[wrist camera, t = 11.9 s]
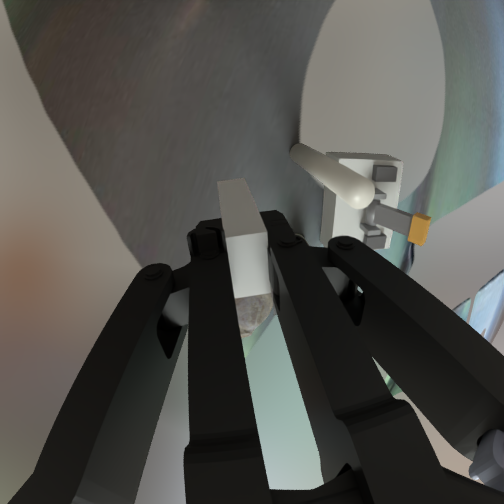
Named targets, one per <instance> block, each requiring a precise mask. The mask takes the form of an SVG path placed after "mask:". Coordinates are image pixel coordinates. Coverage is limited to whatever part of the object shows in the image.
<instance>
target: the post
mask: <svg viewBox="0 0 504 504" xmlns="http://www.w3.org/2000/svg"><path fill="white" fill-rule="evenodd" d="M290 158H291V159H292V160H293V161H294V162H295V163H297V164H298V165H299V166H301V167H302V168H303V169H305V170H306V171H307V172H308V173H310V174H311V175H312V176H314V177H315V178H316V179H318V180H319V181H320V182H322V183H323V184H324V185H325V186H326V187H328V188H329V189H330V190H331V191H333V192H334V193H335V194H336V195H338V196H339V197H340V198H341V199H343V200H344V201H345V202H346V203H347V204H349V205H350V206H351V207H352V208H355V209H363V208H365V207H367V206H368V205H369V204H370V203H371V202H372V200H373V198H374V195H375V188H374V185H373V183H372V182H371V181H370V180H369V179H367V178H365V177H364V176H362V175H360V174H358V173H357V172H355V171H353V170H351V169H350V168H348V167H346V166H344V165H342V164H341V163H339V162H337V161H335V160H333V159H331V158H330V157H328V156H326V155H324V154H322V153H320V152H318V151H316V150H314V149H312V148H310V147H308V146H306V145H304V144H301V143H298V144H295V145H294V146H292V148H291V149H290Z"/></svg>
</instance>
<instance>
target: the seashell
mask: <svg viewBox="0 0 504 504" xmlns="http://www.w3.org/2000/svg"><path fill="white" fill-rule="evenodd" d="M270 285H271V284H270ZM235 303H236V310H237V316H238V322H239V328H240V334H241V338H243V337H248V336H250V335H252V333H253V331H254V329H255V328H256V327H258V326H259V325H260V324H261V323H262V322H263V321H264V320H265V319H266V318H267V316H268V315H269V313H270V311H271V309H272V307H273V290H272V287H271V293H267V294H261V295H254V296H248V297H241V298H235Z"/></svg>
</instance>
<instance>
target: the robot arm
mask: <svg viewBox="0 0 504 504" xmlns="http://www.w3.org/2000/svg"><path fill="white" fill-rule="evenodd" d="M217 184H218V193H219V201H220V209H221V217H222V218H219V219H212V220H205V221H200V222H199V224H198V225H197V226H196V229H193V230H192V231H190V232H189V233H188V235H187V241H188V246H189V251H190V255H191V262H190V263H189V264H187V265H185V266H184V267H181V268H179V269H176V270H173V271H172V269H171V267H170V266H169V265H167V264H162V263H157V264H151V265H148V266H146V267H145V268H143V269H141V270H140V271H139V272H138V273H137V275H136V276H135V278H134V279H133V281H132V283H131V284H130V286H129V287H128V289H127V290H126V292H125V294H124V295H123V297H122V299H121V300H120V302H119V303H118V305H117V307H116V308H115V310H114V312H113V313H112V315H111V316H110V318H109V320H108V322H107V323H106V325H105V327H104V328H103V330H102V332H101V334H100V335H99V337H98V339H97V341H96V342H95V344H94V346H93V348H92V349H91V352H90V353H89V355H88V357H87V358H86V360H85V362H84V364H83V366H82V368H81V370H80V372H79V373H78V375H77V378H76V379H75V381H74V383H73V385H72V387H71V389H70V391H69V393H68V395H67V397H66V399H65V401H64V403H63V405H62V407H61V409H60V411H59V414H58V416H57V418H56V420H55V422H54V425H53V427H52V429H51V431H50V433H49V436H48V438H47V440H46V443H45V445H44V447H43V450H42V452H41V455H40V457H39V460H38V462H37V465H36V467H35V470H34V472H33V474H32V475H31V476H30V477H29V479H28V480H27V481H26V482H25V483H24V485H23V486H22V487H21V488H20V489H19V491H18V492H17V493H16V494H15V495H14V496H13V498H12V499H11V500H10V501H9V502H8V504H134V503H135V499H136V495H137V492H138V487H139V484H140V481H141V477H142V473H143V470H144V466H145V463H146V459H147V456H148V452H149V449H150V446H151V442H152V439H153V435H154V432H155V429H156V425H157V422H158V419H159V415H160V412H161V409H162V406H163V403H164V400H165V396H166V393H167V390H168V387H169V384H170V381H171V378H172V374H173V371H174V368H175V365H176V362H177V359H178V356H179V353H180V350H181V347H182V344H183V341H184V338H185V335H186V332H187V329H188V395H189V397H188V400H189V431H190V441H189V444H188V445H187V447H185V451H184V480H185V493H186V504H504V356H503V355H502V354H501V353H500V352H499V351H497V349H496V348H494V347H493V346H492V345H491V344H490V343H489V342H488V341H487V340H486V339H485V338H483V337H482V336H481V335H480V334H479V333H478V332H477V331H476V330H474V329H473V328H472V327H471V326H470V325H469V324H467V323H466V322H465V321H464V320H463V319H462V318H460V317H459V316H458V315H457V314H456V313H454V312H453V311H452V310H451V309H449V308H448V307H447V306H446V305H444V304H443V303H442V302H441V301H440V300H438V299H437V298H436V297H435V296H434V295H432V294H431V293H429V292H428V291H427V290H426V289H425V288H423V287H422V286H421V285H419V284H418V283H417V282H416V281H414V280H413V279H412V278H410V277H409V276H408V275H407V274H405V273H404V272H403V271H401V270H400V269H399V268H397V267H396V266H395V265H393V264H392V263H391V262H389V261H388V260H386V259H385V258H384V257H382V256H381V255H380V254H378V253H377V252H375V251H374V250H373V249H371V248H370V247H368V246H367V245H366V244H364V243H363V242H361V241H360V240H358V239H356V238H354V237H350V236H346V235H345V236H344V235H342V236H336V237H334V238H331V239H330V240H329V241H328V248H326V247H312V246H309V245H308V244H307V242H306V240H305V239H304V238H302V237H300V236H298V235H295V234H294V232H293V230H292V229H291V227H290V225H289V224H288V222H287V220H286V218H285V217H284V215H283V214H282V213H280V212H279V211H277V210H272V211H264V212H259V211H258V209H257V206H256V204H255V201H254V199H253V197H252V194H251V192H250V190H249V187H248V185H247V183H246V180H245V178H240V179H232V180H224V181H217ZM270 284H271V285H270ZM358 286H359V287H360V288H361V289H362V291H363V293H361V292H359V291H358V290H357V288H358ZM271 287H272V290H273V309H274V315H278V319H279V322H280V325H281V328H282V332H283V335H284V338H285V341H286V344H287V348H288V351H289V355H290V358H291V361H292V364H293V368H294V371H295V374H296V378H297V381H298V384H299V388H300V391H301V394H302V398H303V401H304V404H305V407H306V411H307V414H308V418H309V421H310V424H311V428H312V431H313V434H314V437H315V441H316V444H317V447H318V451H319V455H320V461H321V472H322V477H323V481H324V484H323V485H321V486H319V487H317V488H315V489H311V490H275V489H269V484H268V479H267V475H266V469H265V465H264V460H263V455H262V449H261V444H260V439H259V434H258V429H257V424H256V419H255V414H254V408H253V403H252V397H251V392H250V387H249V380H248V375H247V369H246V364H245V357H244V352H243V346H242V340H241V334H240V328H239V322H238V316H237V310H236V303H235V298H241V297H248V296H254V295H261V294H267V293H271ZM372 357H373V358H374V359H375V360H376V361H377V362H378V364H379V365H380V366H381V367H382V368H383V369H384V370H385V371H386V373H387V374H388V375H389V376H390V377H391V378H392V379H393V380H394V382H395V383H396V384H397V385H398V386H399V387H400V388H401V389H402V391H403V392H404V393H405V394H406V395H407V396H408V397H409V399H410V400H411V401H412V402H413V403H414V404H415V405H416V407H417V408H418V409H419V410H420V411H421V412H422V413H423V415H424V416H425V417H426V418H427V419H428V420H429V421H430V423H431V424H432V425H433V426H434V427H435V428H436V430H437V431H438V432H439V433H440V434H441V435H442V436H443V438H445V440H446V441H447V442H448V443H449V444H450V445H451V446H452V447H453V448H454V449H456V450H457V451H458V452H459V453H461V454H462V455H463V456H465V457H466V458H468V459H470V460H471V461H473V463H472V464H471V465H470V467H469V475H470V477H471V478H472V479H474V480H476V479H480V480H481V481H482V482H483V483H484V485H483V484H481V483H478V482H476V481H474V480H471V479H469V478H467V477H464V476H462V475H460V474H457V473H455V472H453V471H451V470H449V469H446V468H444V467H442V466H441V465H440V462H439V460H438V458H437V456H436V454H435V452H434V449H433V447H432V445H431V443H430V441H429V439H428V437H427V435H426V433H425V431H424V429H423V427H422V425H421V423H420V421H419V419H418V417H417V415H416V413H415V411H414V409H413V408H412V406H411V405H410V404H409V403H408V402H407V401H405V400H401V399H395V398H394V397H393V396H392V395H391V393H390V391H389V389H388V387H387V385H386V383H385V381H384V379H383V377H382V376H381V373H380V372H379V370H378V368H377V366H376V364H375V362H374V360H373V358H372Z"/></svg>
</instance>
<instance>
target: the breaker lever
mask: <svg viewBox="0 0 504 504" xmlns="http://www.w3.org/2000/svg"><path fill="white" fill-rule="evenodd" d="M430 221H431V217H429V216H426V215H423V214H421V213H418V212H417V213H416V214H414V215H412V214H410V213H407V212H404V211H401V210H399V209H396V208H393V207H390V206H387V205H384V204H381V203H380V199H373V200H372V202H371V203H370V204H369V205H368V206H367V211H366V218H365V223H366V224H367V225H371V226H375V225H377V224H378V225H380V226H383V227H386V228H388V229H391V230H393V231H396V232H398V233H401V234H403V235H406V236H408V241H410V242H413V243H415V244H418V245H420V246H422V245H423V244H424V243H425V241H426V237H427V233H428V229H429V225H430Z"/></svg>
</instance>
